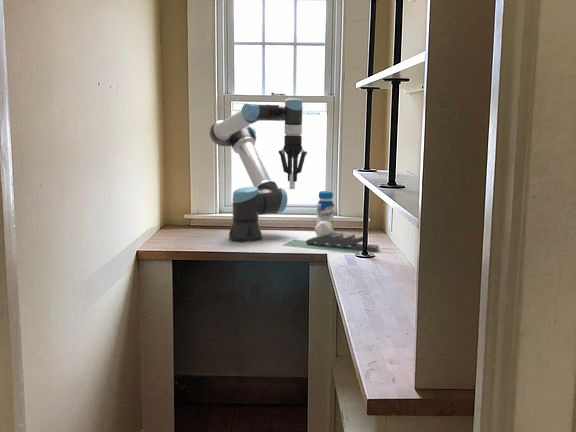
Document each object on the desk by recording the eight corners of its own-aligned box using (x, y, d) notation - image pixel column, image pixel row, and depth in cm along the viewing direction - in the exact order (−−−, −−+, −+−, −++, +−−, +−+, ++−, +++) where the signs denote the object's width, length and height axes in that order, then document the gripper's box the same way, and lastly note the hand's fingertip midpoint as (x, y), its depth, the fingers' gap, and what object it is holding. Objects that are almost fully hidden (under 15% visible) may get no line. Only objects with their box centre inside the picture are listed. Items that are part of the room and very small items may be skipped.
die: (336, 238, 279) (328, 221, 283) (336, 233, 271) (328, 214, 274) (320, 245, 279) (312, 227, 282) (319, 239, 271) (312, 221, 274)
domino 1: (305, 240, 260) (328, 234, 256) (309, 238, 265) (331, 232, 260) (307, 244, 260) (329, 238, 256) (310, 242, 265) (333, 236, 261)
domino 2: (316, 242, 259) (339, 235, 254) (319, 239, 263) (342, 233, 259) (317, 246, 259) (340, 239, 254) (321, 243, 263) (343, 237, 259)
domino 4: (339, 244, 255) (362, 237, 250) (342, 241, 259) (365, 234, 255) (340, 248, 255) (364, 241, 250) (344, 245, 259) (367, 238, 255)
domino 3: (328, 243, 257) (351, 236, 252) (331, 241, 261) (354, 234, 257) (329, 247, 257) (352, 240, 252) (332, 244, 261) (355, 238, 257)
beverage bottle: (332, 230, 295) (333, 190, 292) (334, 234, 287) (335, 193, 283) (315, 230, 294) (316, 190, 291) (317, 234, 286) (318, 193, 283)
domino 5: (350, 245, 253) (375, 247, 249) (353, 243, 258) (378, 245, 253) (350, 249, 253) (375, 252, 249) (353, 247, 258) (378, 249, 254)
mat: (281, 246, 258) (281, 245, 258) (293, 240, 271) (293, 239, 271) (357, 254, 246) (357, 253, 246) (366, 247, 259) (366, 246, 259)
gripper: (275, 134, 257) (275, 188, 261) (304, 135, 252) (303, 190, 256) (282, 134, 264) (281, 187, 268) (310, 135, 259) (308, 188, 263)
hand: (292, 188), depth 262 cm, fingers closed
